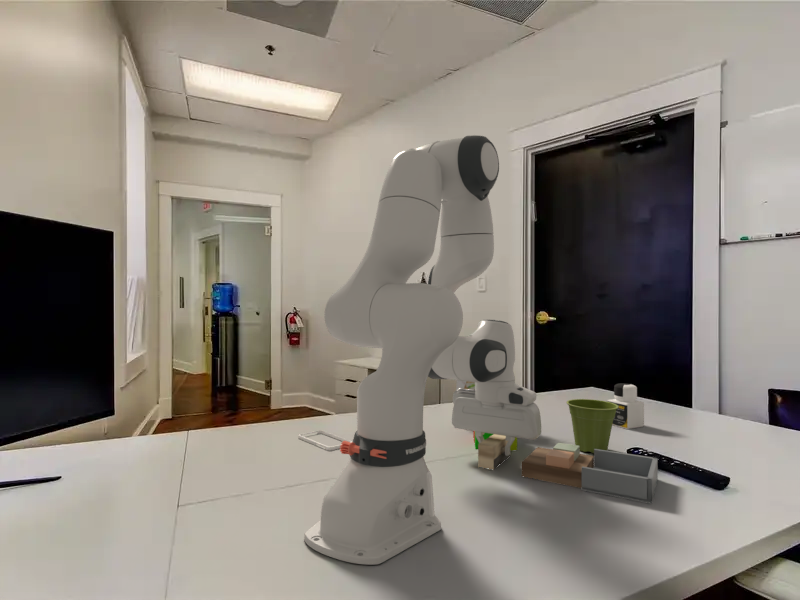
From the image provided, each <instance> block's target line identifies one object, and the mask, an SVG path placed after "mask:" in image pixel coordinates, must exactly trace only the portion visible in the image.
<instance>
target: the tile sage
mask: <svg viewBox="0 0 800 600" xmlns="http://www.w3.org/2000/svg"><path fill="white" fill-rule="evenodd" d="M552 449H554V450H560V451H567V452H573V453H574V461H575V460H576V459H577V458H578V456H579V455H580V454H581V453H580V452H581V450H580V446H578V445H575V444H571V443H563V442H557V443H556V444H555V445H554V446H553V447H552Z"/></svg>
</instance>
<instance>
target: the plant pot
mask: <svg viewBox="0 0 800 600" xmlns="http://www.w3.org/2000/svg"><path fill="white" fill-rule="evenodd" d="M566 404H567V405H568V410H569V414H570V418H571V424H572V429H573V431H572V432H573V438H574V445H578V446H580V452H583V453H584V452H585V453H588V452H590V453H592V454H594V449H600V450H607V451H608V450H609V443H610V439H611V433H612V430H613V429H612V427H613V425H612V423H613V418H614V417H615V413H616V409H618V408H619V406H618V405H616V404H614V403H611V402H607V401H605V400H600V399H592V398H591V399H590V398H587V399H586V398H577V399H576V398H574V399H573V398H572V399H568V400H567V401H566Z"/></svg>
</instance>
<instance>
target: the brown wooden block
mask: <svg viewBox="0 0 800 600" xmlns="http://www.w3.org/2000/svg"><path fill="white" fill-rule="evenodd" d="M551 449H552V448H546V447H539V446H537V447H536V448H535V449H534V450H533V451H532V452H531V453H529V454H528V455H527V456H526V457H525V458H524V459H523V460H522V461H521V477H522V476H524V477H523V478H527V477H528V479H532V478H534V479H533V480H537V479H538V481H544V482H548V483H552V484H553V483H554V484H558V485H564V486H569V487H573V488H574V487H575V488H579V489H582V466H583V467H589V468H594V455H590V454H589V455H588V454H584V453H580V455H579V456H578V458H577V459H576V460H575V461H574V463H573V464H572V466H571V467H570V468H569V469H567V468H562V467H556V466H550V465H546V454H547V453H548V452H549V451H550V450H551Z"/></svg>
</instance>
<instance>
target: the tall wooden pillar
mask: <svg viewBox="0 0 800 600" xmlns="http://www.w3.org/2000/svg"><path fill="white" fill-rule="evenodd" d="M507 443H508V441H506V436H504V435H497V434H493V435H492V436H490V437H489V438H487V439H486V440H484V441H483V442H481V443H479V444H478V449H477V455H478V456H477V467H478V468H479V467H483V468H482V469H484V468H489V469H488V470H490V469H493V470H492V471H495V470H496V469H497V468H498V467H499V466H500V465H499V464H501V463H502V462H503V461H504V460H505V461H507V460H506V459H507V458H508V457H509V456H510V457H511V453H510V454H509V455H508V456H505V455H501V452H502V451H501V447H503V446H504V445H505V446H506V444H507ZM510 457H509V458H510ZM509 458H508V459H509ZM505 461H504V462H505ZM504 462H503V463H504ZM503 463H502V464H503ZM502 464H501V465H502ZM498 465H499V466H498ZM497 466H498V467H497ZM496 467H497V468H496ZM495 468H496V469H495Z"/></svg>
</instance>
